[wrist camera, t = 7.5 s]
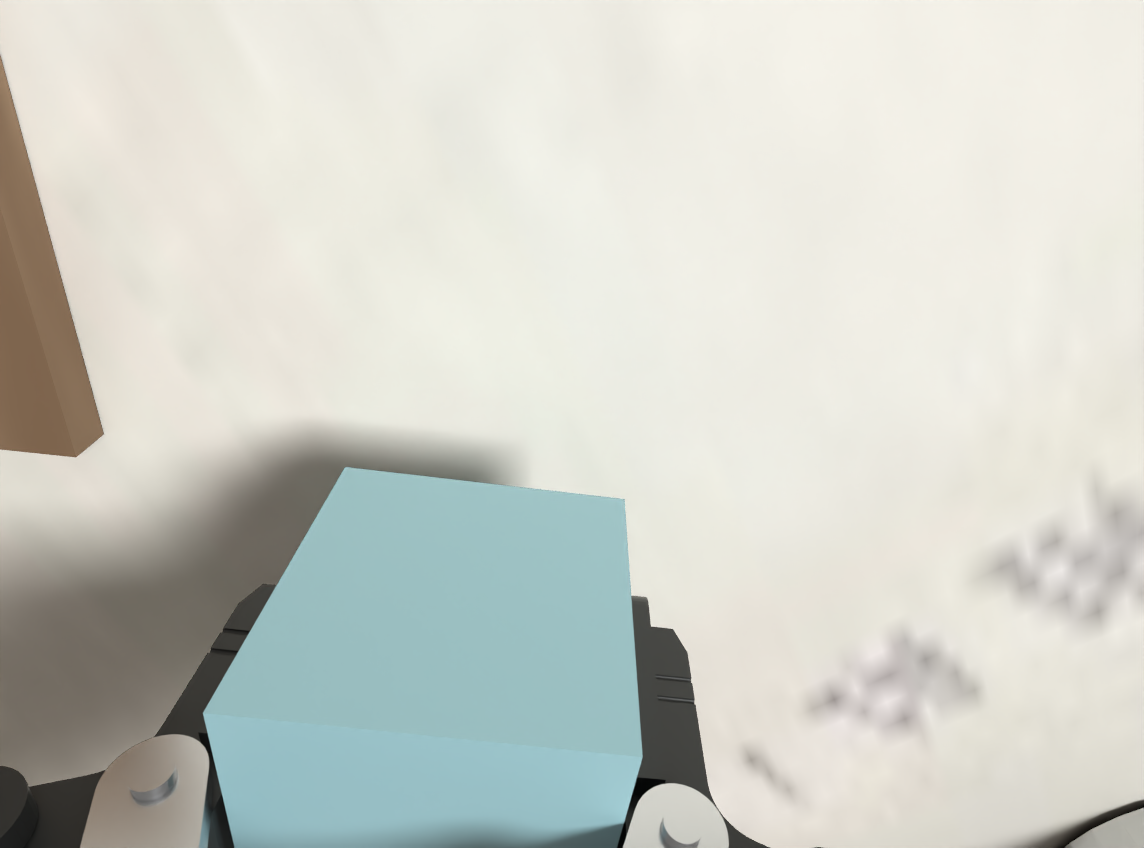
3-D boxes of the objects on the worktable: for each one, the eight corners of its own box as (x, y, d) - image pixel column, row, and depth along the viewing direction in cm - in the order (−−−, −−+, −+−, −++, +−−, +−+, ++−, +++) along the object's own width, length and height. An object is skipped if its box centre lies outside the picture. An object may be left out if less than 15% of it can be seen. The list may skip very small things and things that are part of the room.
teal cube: (624, 499, 12) (642, 757, 8) (587, 684, 15) (585, 958, 10) (345, 466, 12) (202, 712, 8) (355, 660, 14) (253, 928, 10)
